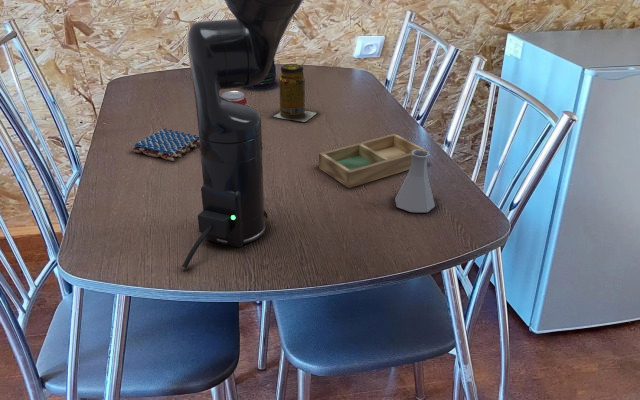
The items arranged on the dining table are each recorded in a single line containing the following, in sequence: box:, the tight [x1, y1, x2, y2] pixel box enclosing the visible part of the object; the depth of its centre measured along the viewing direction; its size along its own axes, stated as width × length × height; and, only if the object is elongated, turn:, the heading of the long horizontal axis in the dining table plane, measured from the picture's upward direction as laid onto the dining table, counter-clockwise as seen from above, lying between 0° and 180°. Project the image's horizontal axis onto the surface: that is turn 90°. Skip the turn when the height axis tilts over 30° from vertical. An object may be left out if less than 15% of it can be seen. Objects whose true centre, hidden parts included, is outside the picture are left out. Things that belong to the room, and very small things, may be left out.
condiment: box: [272, 63, 317, 123], centre depth 136 cm, size 7×8×12 cm
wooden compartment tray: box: [318, 133, 428, 189], centre depth 113 cm, size 10×19×3 cm, turn 124°
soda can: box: [221, 90, 248, 106], centre depth 117 cm, size 5×5×12 cm
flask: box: [394, 149, 436, 213], centre depth 98 cm, size 7×7×10 cm
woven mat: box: [132, 128, 200, 162], centre depth 119 cm, size 10×11×2 cm
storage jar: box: [242, 59, 277, 91], centre depth 155 cm, size 10×10×15 cm
